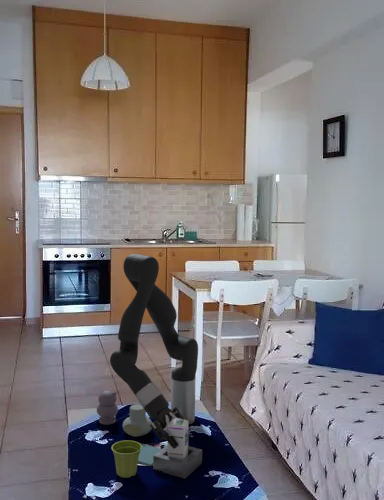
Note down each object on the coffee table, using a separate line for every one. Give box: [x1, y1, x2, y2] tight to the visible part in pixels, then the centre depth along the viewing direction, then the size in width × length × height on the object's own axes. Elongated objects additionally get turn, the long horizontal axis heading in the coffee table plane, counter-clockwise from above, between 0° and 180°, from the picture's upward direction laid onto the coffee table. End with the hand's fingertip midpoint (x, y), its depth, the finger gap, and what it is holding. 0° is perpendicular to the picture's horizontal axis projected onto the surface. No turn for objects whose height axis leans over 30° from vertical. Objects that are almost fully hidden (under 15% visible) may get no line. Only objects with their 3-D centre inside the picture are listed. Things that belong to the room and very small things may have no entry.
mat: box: [138, 443, 163, 467], centre depth 182 cm, size 11×11×1 cm
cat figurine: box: [96, 388, 119, 426], centre depth 208 cm, size 8×8×12 cm
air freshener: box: [122, 403, 153, 438], centre depth 198 cm, size 11×8×10 cm
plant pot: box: [111, 440, 142, 479], centre depth 169 cm, size 9×9×9 cm
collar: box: [152, 444, 203, 480], centre depth 175 cm, size 12×12×4 cm
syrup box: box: [166, 418, 189, 460], centre depth 174 cm, size 6×6×14 cm
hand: (182, 442), depth 173 cm, fingers closed on syrup box, 7 cm apart
